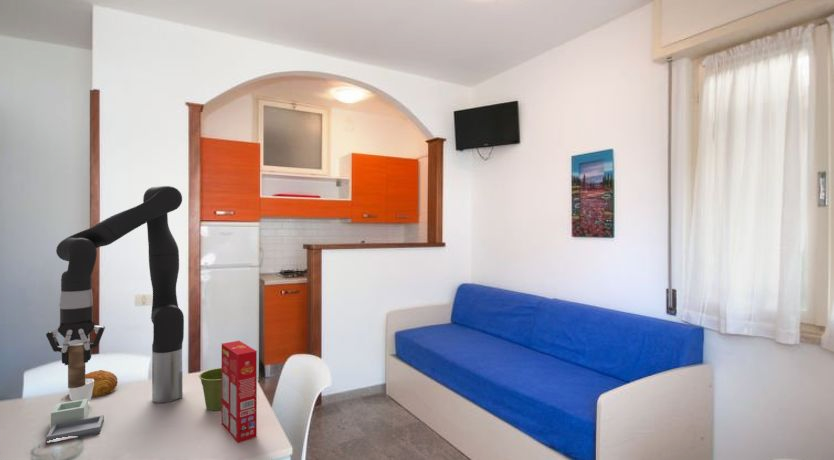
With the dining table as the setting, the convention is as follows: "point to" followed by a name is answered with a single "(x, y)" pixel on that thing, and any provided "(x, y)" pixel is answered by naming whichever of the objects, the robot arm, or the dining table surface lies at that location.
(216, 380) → the plant pot
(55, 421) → the pot
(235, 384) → the food packaging
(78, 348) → the wooden dowel
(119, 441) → the dining table surface
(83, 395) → the cup
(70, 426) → the tray
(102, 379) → the croissant
